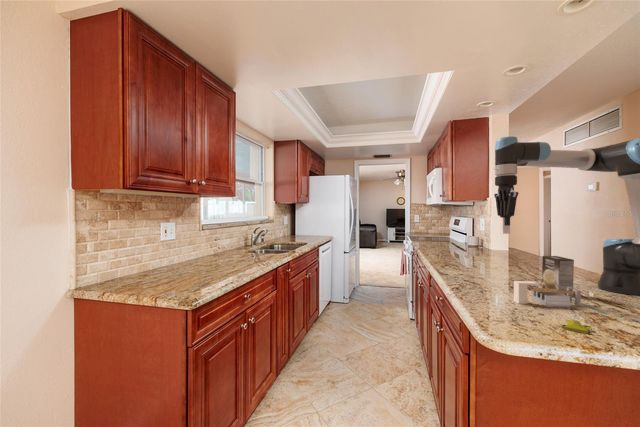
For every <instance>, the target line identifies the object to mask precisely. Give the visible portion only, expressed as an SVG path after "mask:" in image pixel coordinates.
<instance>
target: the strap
mask: <svg viewBox="0 0 640 427" xmlns="http://www.w3.org/2000/svg"><path fill="white" fill-rule="evenodd" d="M528 290H529V291H531V292H532V291H545V292H557V293H569V294H573V295H575V290H574V289H573V290H558V289H546V288H542V287H534V286H533V287H532V286H527V291H528Z"/></svg>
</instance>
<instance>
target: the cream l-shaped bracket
mask: <svg viewBox="0 0 640 427" xmlns="http://www.w3.org/2000/svg"><path fill="white" fill-rule="evenodd" d="M528 286H533V287H535V286H538V287H539V286H540V283H539V282H536V281H535V280H534V281H533V280H532V281H531V280H529V281H528V280H527V281H526V280H514V281H513V302H514V303H517V304H518V305H528V289H527V287H528Z"/></svg>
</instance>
